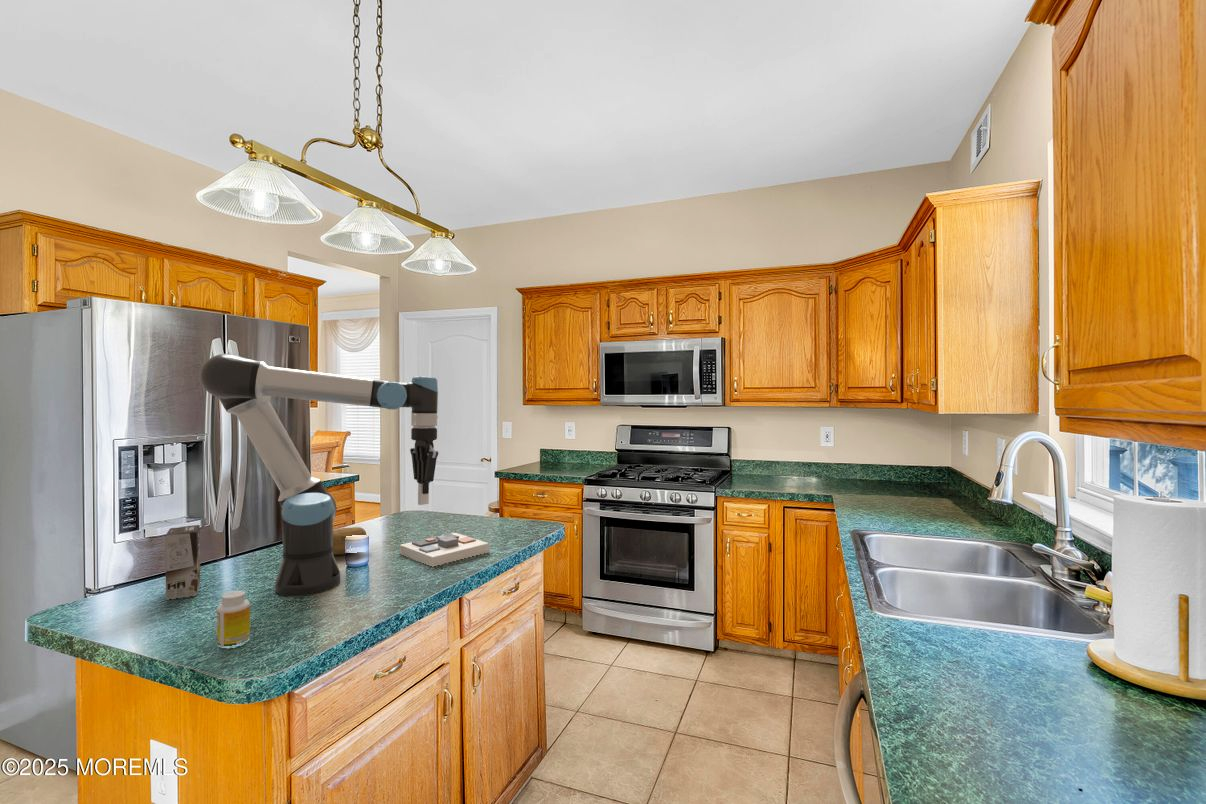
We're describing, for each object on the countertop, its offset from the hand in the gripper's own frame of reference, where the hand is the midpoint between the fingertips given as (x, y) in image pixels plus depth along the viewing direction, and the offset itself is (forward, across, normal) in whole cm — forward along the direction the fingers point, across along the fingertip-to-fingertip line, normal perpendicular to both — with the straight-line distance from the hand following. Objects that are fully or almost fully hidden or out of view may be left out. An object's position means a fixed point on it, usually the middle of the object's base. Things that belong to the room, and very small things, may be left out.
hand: (423, 504), depth 168 cm
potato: (+17, +22, +15) cm, 32 cm away
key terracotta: (+16, -2, -14) cm, 21 cm away
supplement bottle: (+18, -25, +55) cm, 63 cm away
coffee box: (+18, +17, +56) cm, 61 cm away
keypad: (+17, 0, -7) cm, 18 cm away
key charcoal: (+15, -2, -7) cm, 16 cm away
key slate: (+16, -2, -1) cm, 16 cm away
